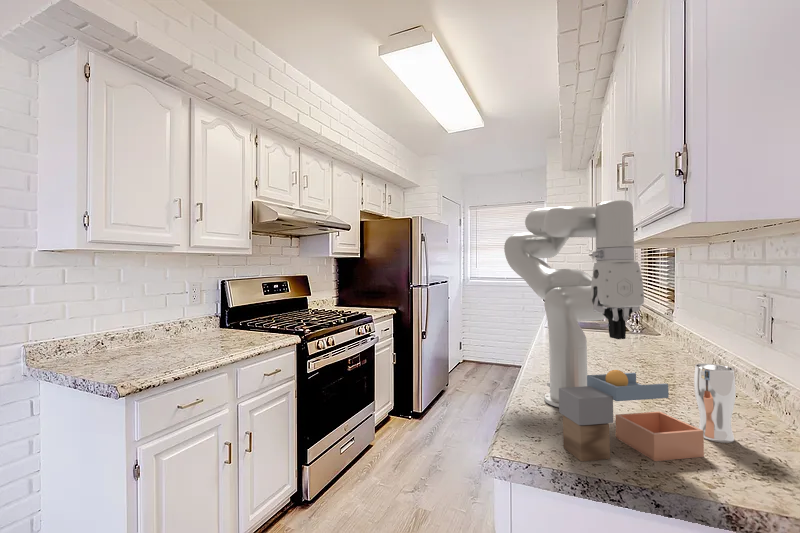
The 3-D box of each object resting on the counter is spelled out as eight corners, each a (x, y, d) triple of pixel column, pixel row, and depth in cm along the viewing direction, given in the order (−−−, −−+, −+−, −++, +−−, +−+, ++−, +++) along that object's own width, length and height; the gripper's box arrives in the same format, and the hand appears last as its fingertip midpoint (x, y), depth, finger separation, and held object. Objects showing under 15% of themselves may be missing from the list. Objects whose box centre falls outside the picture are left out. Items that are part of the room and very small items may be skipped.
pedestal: (581, 461, 75) (580, 426, 75) (563, 447, 80) (562, 415, 81) (610, 458, 75) (609, 424, 76) (590, 445, 81) (589, 413, 81)
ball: (601, 387, 81) (600, 368, 81) (619, 386, 81) (618, 367, 81) (614, 393, 77) (614, 373, 77) (633, 392, 77) (632, 372, 78)
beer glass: (696, 428, 89) (694, 361, 90) (736, 435, 85) (734, 366, 85) (694, 438, 84) (692, 367, 84) (737, 447, 80) (735, 372, 80)
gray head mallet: (582, 427, 73) (581, 389, 73) (542, 401, 88) (541, 369, 88) (673, 420, 76) (672, 384, 76) (619, 396, 91) (618, 365, 91)
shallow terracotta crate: (615, 437, 85) (615, 414, 85) (660, 434, 86) (659, 411, 86) (654, 461, 74) (654, 434, 74) (703, 456, 76) (703, 430, 76)
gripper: (595, 255, 84) (597, 342, 83) (657, 255, 86) (660, 339, 86) (574, 257, 91) (576, 337, 91) (632, 257, 94) (635, 334, 93)
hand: (617, 338), depth 88 cm, fingers closed
